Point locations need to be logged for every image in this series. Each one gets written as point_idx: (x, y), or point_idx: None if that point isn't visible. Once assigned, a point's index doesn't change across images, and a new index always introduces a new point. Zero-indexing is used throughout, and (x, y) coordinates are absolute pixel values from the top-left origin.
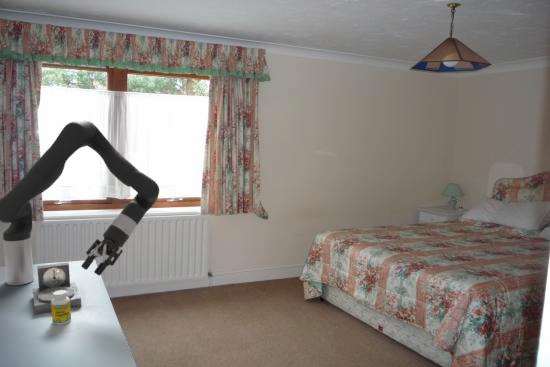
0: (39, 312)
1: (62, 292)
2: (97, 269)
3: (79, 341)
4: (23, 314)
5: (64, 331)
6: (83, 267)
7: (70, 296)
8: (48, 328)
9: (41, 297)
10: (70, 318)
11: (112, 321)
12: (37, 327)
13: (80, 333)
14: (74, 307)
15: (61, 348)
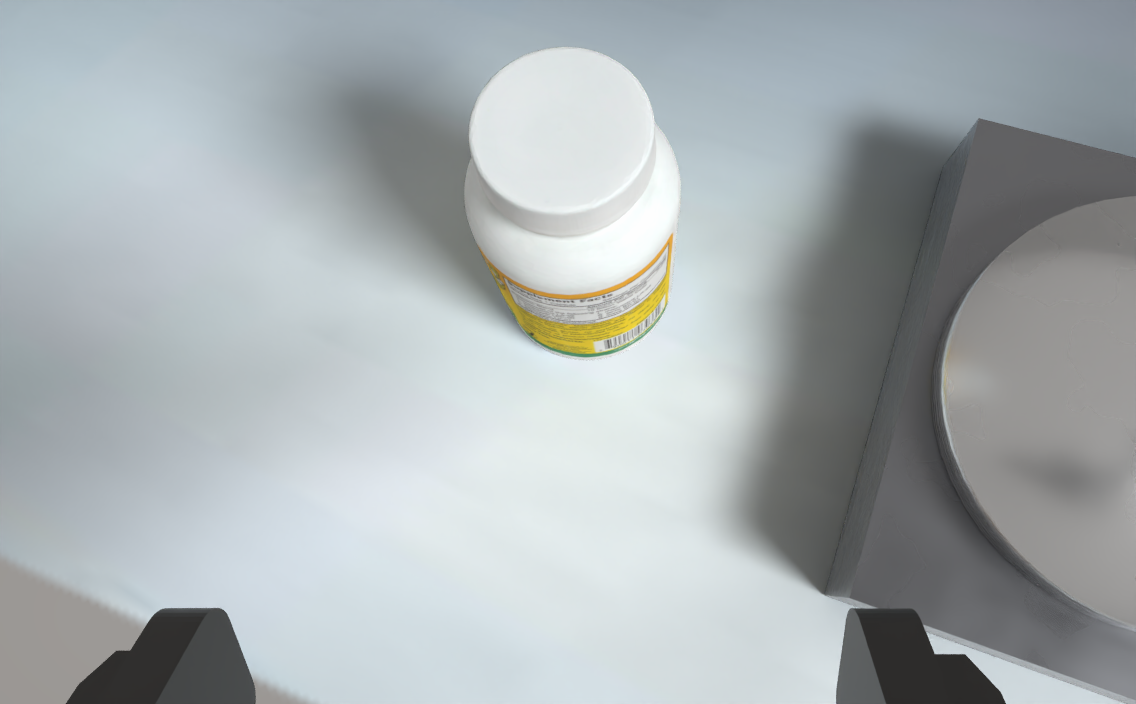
0: (936, 196)
1: (530, 151)
2: (119, 677)
3: (109, 228)
4: (1031, 98)
5: (372, 218)
6: (849, 639)
7: (971, 510)
8: None
9: (1110, 203)
10: (526, 333)
11: None
12: None
13: (228, 295)
14: (845, 522)
15: (123, 94)
